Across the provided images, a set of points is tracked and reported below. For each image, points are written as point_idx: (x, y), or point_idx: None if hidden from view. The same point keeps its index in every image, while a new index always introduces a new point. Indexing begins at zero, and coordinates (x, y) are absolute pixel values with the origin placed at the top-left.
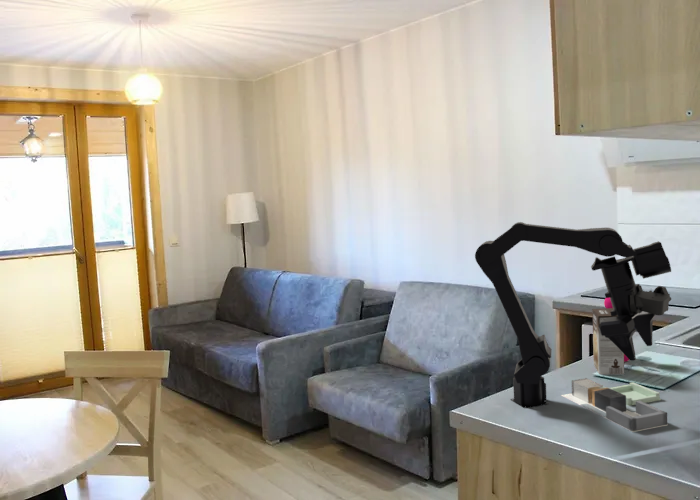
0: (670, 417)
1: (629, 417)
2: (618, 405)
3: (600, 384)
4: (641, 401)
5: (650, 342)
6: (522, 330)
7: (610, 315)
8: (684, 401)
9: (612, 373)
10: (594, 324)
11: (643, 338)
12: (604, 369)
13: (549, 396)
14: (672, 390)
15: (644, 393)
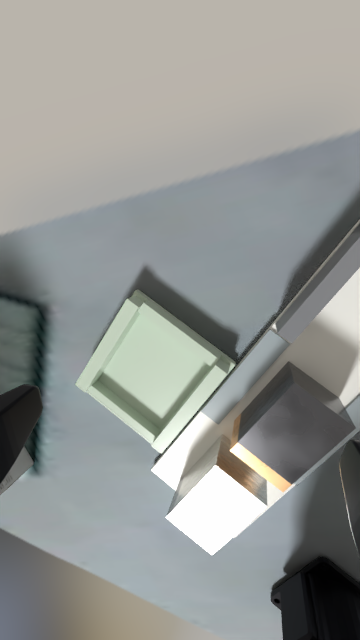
0: (255, 235)
1: None
2: (316, 389)
3: (208, 473)
4: (284, 325)
5: (22, 403)
6: None
7: None
8: (99, 234)
9: None
10: None
11: (3, 466)
12: (13, 465)
13: (238, 557)
14: (34, 284)
15: (121, 341)
